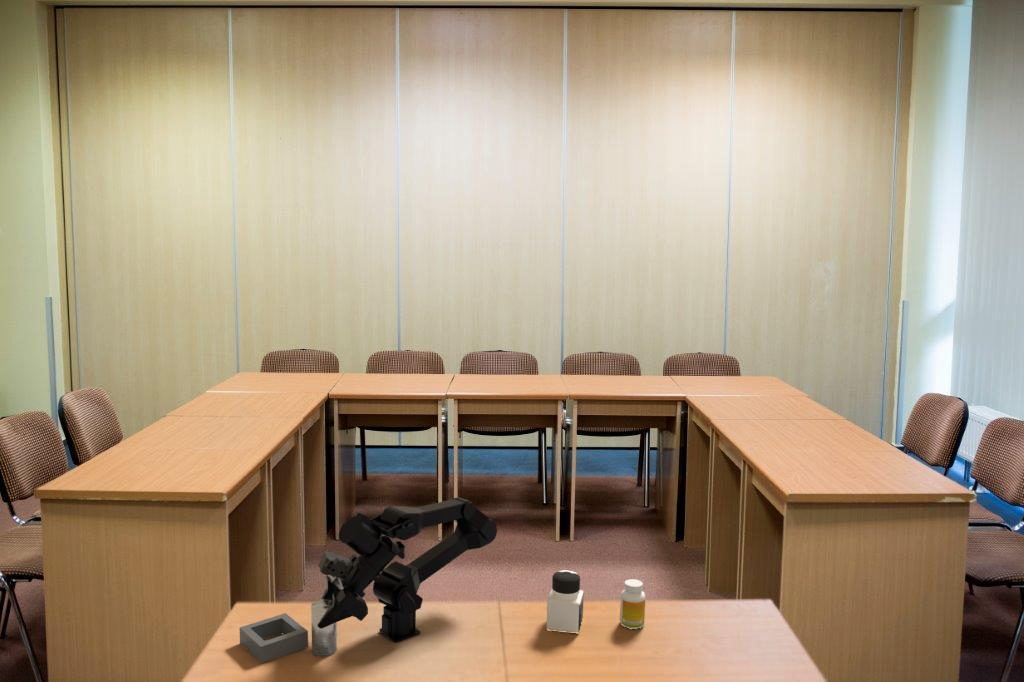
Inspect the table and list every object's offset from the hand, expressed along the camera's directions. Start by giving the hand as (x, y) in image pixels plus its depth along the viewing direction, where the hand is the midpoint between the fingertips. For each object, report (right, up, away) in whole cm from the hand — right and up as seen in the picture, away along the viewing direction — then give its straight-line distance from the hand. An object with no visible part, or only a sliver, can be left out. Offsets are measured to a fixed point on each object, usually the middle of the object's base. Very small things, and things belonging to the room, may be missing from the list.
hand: (317, 621), depth 168 cm
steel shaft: (+1, -6, +1) cm, 7 cm away
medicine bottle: (+51, -6, +14) cm, 53 cm away
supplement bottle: (+66, -6, +15) cm, 68 cm away
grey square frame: (-10, -6, +3) cm, 12 cm away
